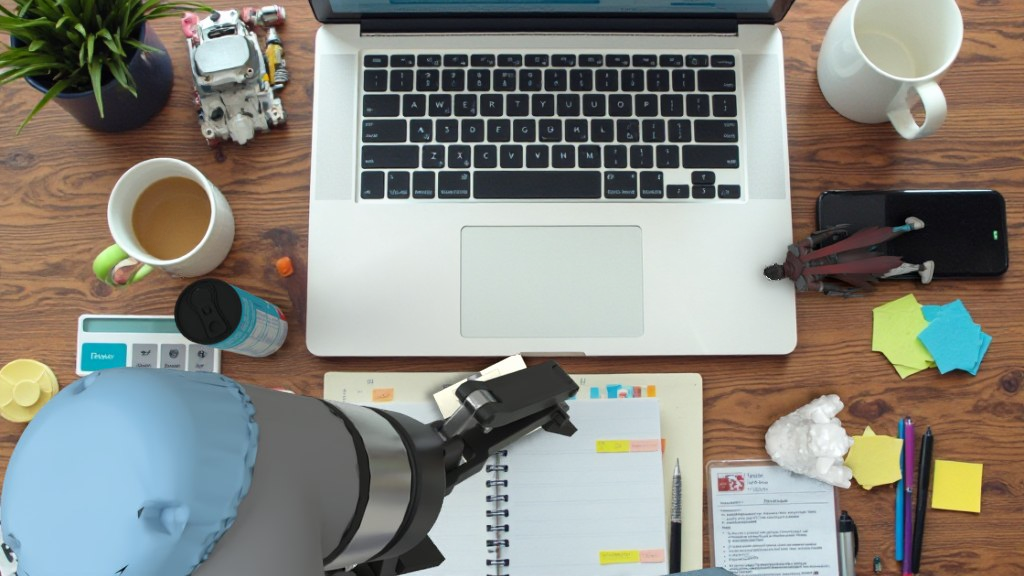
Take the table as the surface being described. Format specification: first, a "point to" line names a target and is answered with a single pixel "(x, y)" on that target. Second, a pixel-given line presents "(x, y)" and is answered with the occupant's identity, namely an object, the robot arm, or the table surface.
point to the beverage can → (229, 319)
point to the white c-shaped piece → (447, 396)
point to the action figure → (846, 260)
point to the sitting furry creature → (812, 442)
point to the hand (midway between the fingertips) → (496, 484)
